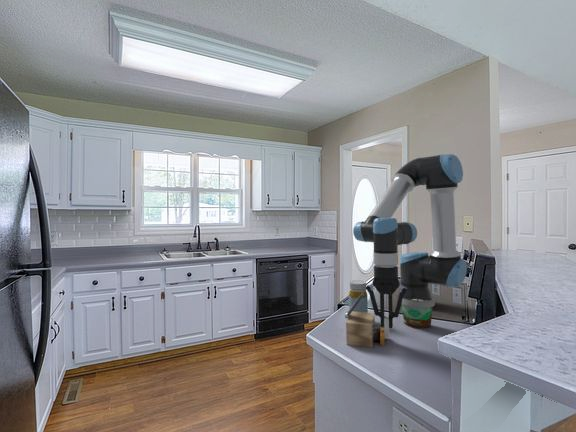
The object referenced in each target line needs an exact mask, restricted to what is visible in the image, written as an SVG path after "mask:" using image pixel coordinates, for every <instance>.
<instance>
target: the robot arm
mask: <svg viewBox="0 0 576 432" xmlns="http://www.w3.org/2000/svg"><path fill="white" fill-rule="evenodd" d="M462 165H463V164H462V163H461V161H460V159H459V157H458V156H457V155H455V154H454V153H453V154H452V153H448V154H437V155H432V156H425V157H418V158H414V159H412V160H410V161H409V162H406V164H404V165H403V166H402V167H400V168H399V169H398V171H396V173H395V174H394V175H393V177H392V179H391V184H390V185H389V186H388V188H387V190H386V191H384V193H383V195H382V196H381V197H380V199H379V201H378V202H377V204H376V205H375V206H374V208H373V209H372V210H371V212H370V214H369V215H368V216H367V218H366V219H365V220H364V221H363V220H362V221H357V222H356V223H355V224H354V226H353V230H352V232H353V233H352V234H353V237H354V238H355V240H357V241H359V242H363V243H373V264H374V265H373V280H372V283H370V284H366V292H367V293H368V294H369V298H370V301H371V306H372V308H373V313H374V316H377V317H379V318H380V328H381V327H384V339H385V340H386V339H387V340H389V339H390V329H393V327H394V326H393V325H394V321H393V320H394V318H398V317H399V316H400V315H399V314H400V311H401V308H402V304H401V303H402V299H403V298H404V299H421V300H428V301H431V300H433V298H432V294H431V291H430V288H429V284H433V285H438V286H444V287H450V288H451V287H452V288H458V287H461V286H462V284H463V283H464V281H465V279H466V276H467V272H468V264H467V260H466V259H464V258H462V257H461V252H459V251H458V250H457V237H456V218H455V217H456V216H455V215H456V214H455V193H454V192H455V191H456V190H457V188H458V186H459V185H458V184H459V183H461V182H462V181H463V179H464V170H463V166H462ZM419 186H425V188H426V189H425V190H426V191H427V192H429V195H430V211H431V230H432V231H431V234H432V251H431V252H430V253H429V252H427V251H415V252H406V253H402V255H400V261H399V258H398V257H399V253H398V252H399V251H398V246H401V245H408V244H411V243H413V242H415V240H416V239H417V237H418V230H417V227H416V226H415V225H414V224H413V223H411V222H409V221H408V222H407V221H401V222H398V220H397V218H396V217H393V216H394V215H395V213H396V211H397V210H398V208H399V207H400V206H401V203H402V202H403V200H404V199H405V198H406V196H407V195H408V193H409V192H412V191H413V190H414V188H416V187H419ZM398 264H399V266H400V267H398ZM399 268H400V280H399ZM397 289H398V294H397V296H396V305H395V309H394V311H393V294H394V293H396V291H397ZM374 290H376V291H377V292H378V293H379V307H378V303H377V299H376V295H375V292H374ZM385 295H388V296H387V297H388V299H387V300H388V301H387V303H388V309H387V310H388V315H386V313H385ZM379 308H380V309H379Z"/></svg>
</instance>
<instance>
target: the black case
mask: <svg viewBox="0 0 576 432" xmlns="http://www.w3.org/2000/svg"><path fill="white" fill-rule="evenodd" d="M374 341H376V342H380V344H379V345H380V346H385V342H386V339H384V327H381V326H380V327H375V328H373V342H374Z"/></svg>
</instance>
